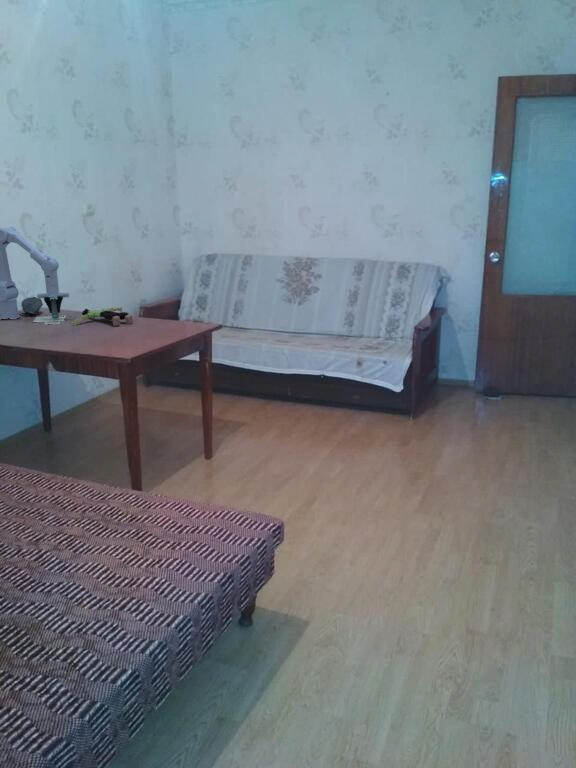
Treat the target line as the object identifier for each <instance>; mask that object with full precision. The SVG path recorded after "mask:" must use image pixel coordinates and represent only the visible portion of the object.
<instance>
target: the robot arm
mask: <svg viewBox="0 0 576 768" xmlns="http://www.w3.org/2000/svg"><path fill="white" fill-rule="evenodd" d="M11 243H12V244H13V243H15V244H17V245H19V247H21V248H23V249H24V251H26V252H27V253H28V254H29V256H30V257H29V258H31V259H32V260H33V261H34V262H35V263H37V264H38V265H39V266H40V269H41V270H42V271H43V275H44V281H45V283H44V284H45V290H46V293H37V294H36V298H37V299H43V300H44V303H45V305H46V307H48V311H49V314H52V312H51V303H50V300H51V298H56V299H57V303H58V313H59V314H60V313H61V308H62V307H61V305H62V302H63V299H64V298H67V299H69V298H70V293H69V292H60V289H59V287H60V286H59V280H58V279H59V278H58V269H59V262H58V261H57V259H55V258H51V257H50V256H48V254H46V253H45V252H44V251H43V249H42V248H39V247H34V246H33V245H32V243H31V242H29V241H28V240H27V239H26V238H25V237H24V236H23V235H22V234H21V233H20V231H18V230H17V229H16V228H15V227H13V226H9V227H0V316H1V317H0V318H17V317H19V316H18V315H19V310H18V302H17V301H18V300H17V298H18V297H19V294H20V292H19V289H18V288H17V286H16V283H15V282H14V281H13V280H12V274H11V269H10V264H9V260H8V259H9V258H8V254H7V247H8V246H9V245H10V244H11Z"/></svg>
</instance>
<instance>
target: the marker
mask: <svg viewBox="0 0 576 768" xmlns="http://www.w3.org/2000/svg"><path fill="white" fill-rule="evenodd" d="M50 303H51V312H52V313H51V316H52V319H57V318H59V316H60V313H58V303H57V298H50Z"/></svg>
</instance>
